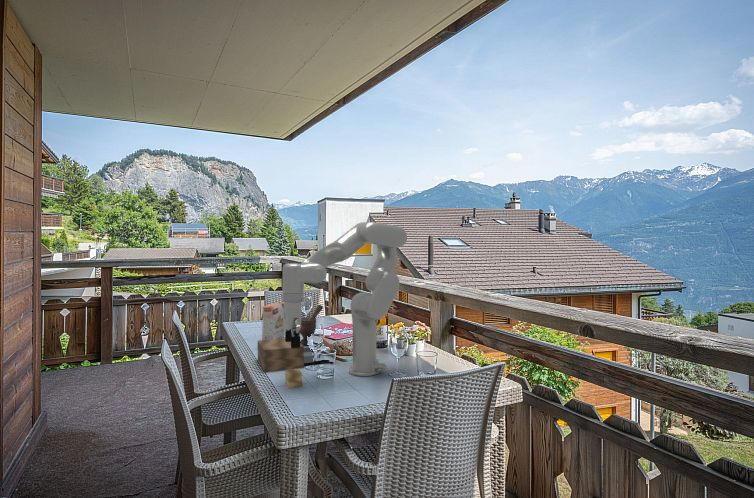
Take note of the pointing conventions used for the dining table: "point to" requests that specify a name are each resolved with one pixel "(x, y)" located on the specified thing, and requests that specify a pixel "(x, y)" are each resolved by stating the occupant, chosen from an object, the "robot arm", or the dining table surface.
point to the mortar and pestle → (309, 325)
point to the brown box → (279, 355)
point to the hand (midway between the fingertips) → (292, 344)
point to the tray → (308, 354)
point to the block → (293, 378)
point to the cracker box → (273, 321)
